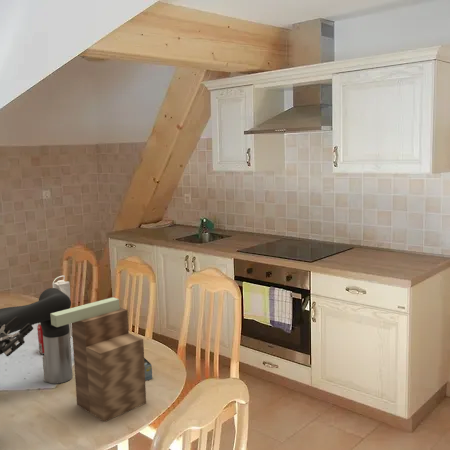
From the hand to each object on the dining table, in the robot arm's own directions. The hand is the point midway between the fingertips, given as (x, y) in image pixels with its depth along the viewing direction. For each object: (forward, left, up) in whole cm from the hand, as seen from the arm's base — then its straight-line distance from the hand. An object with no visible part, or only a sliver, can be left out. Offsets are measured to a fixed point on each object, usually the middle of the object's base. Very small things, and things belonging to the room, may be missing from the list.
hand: (24, 322), depth 155 cm
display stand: (+21, +12, -33) cm, 41 cm away
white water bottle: (-12, +72, -33) cm, 80 cm away
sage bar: (+15, +12, -3) cm, 19 cm away
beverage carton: (+25, +36, -33) cm, 55 cm away
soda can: (-14, +57, -33) cm, 67 cm away
